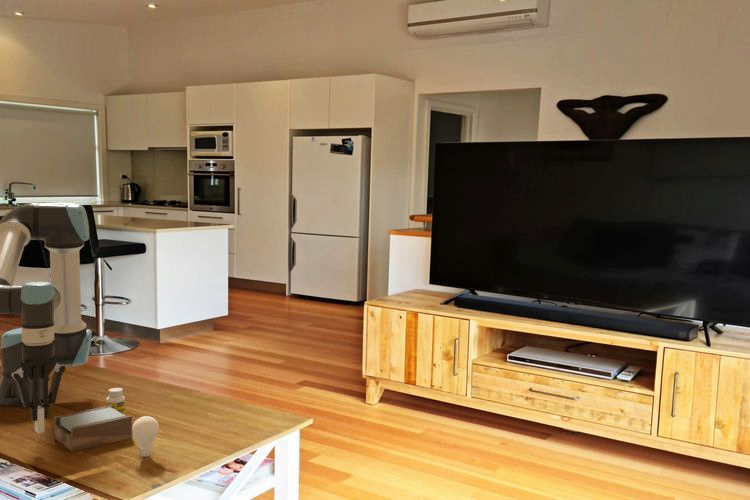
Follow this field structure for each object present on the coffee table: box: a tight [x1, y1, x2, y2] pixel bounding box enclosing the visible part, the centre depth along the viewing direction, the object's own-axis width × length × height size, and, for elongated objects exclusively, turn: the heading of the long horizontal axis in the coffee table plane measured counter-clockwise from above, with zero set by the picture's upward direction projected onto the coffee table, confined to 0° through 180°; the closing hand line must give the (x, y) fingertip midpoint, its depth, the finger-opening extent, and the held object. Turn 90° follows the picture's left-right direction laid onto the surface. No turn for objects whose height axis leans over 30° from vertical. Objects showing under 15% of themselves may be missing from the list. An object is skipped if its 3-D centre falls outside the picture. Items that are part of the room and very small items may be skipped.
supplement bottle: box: [105, 387, 126, 416], centre depth 203 cm, size 5×5×10 cm
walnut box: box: [53, 405, 133, 453], centre depth 187 cm, size 13×16×7 cm
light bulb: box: [132, 415, 160, 459], centre depth 177 cm, size 7×7×11 cm
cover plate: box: [60, 407, 126, 432], centre depth 187 cm, size 10×14×2 cm
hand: (39, 431), depth 177 cm, fingers closed
